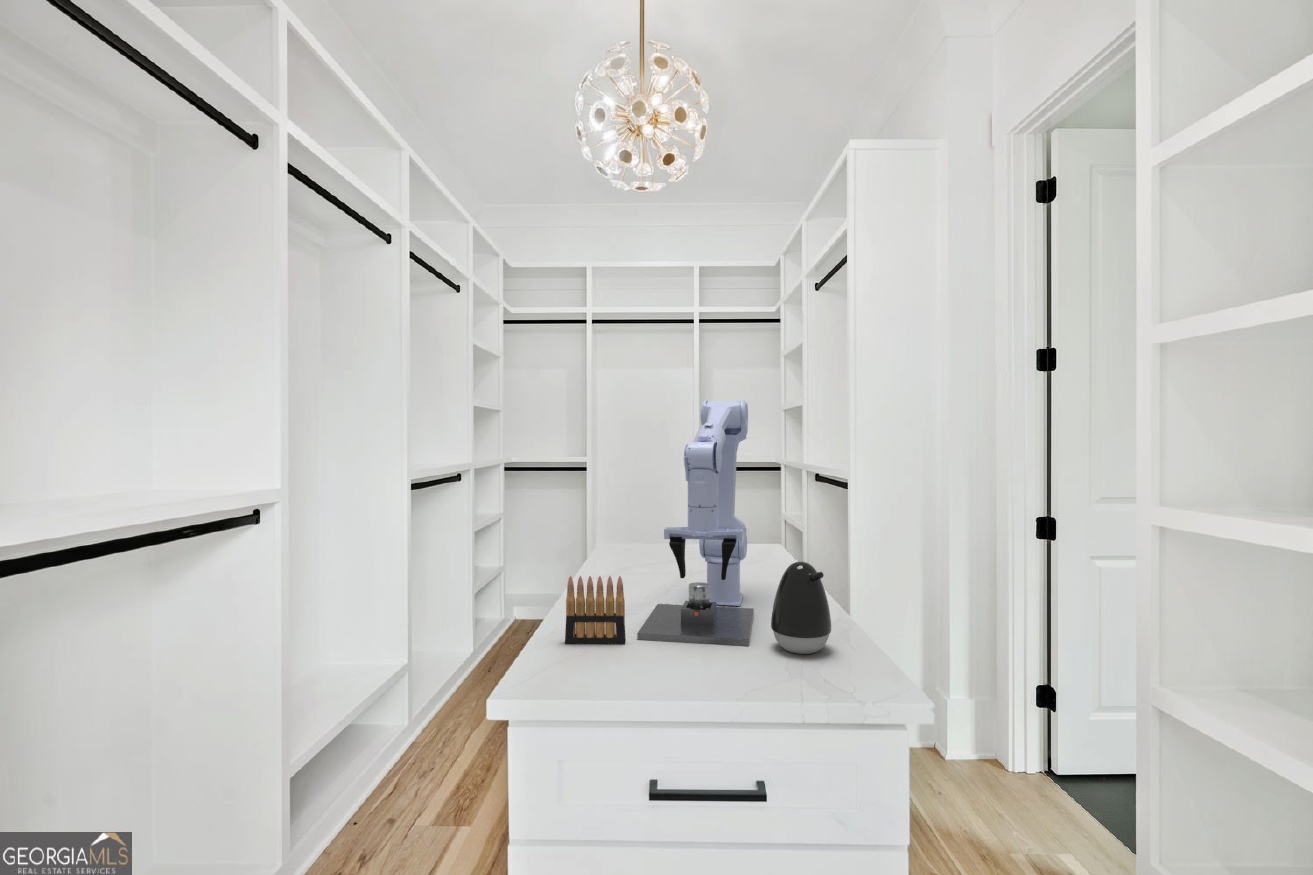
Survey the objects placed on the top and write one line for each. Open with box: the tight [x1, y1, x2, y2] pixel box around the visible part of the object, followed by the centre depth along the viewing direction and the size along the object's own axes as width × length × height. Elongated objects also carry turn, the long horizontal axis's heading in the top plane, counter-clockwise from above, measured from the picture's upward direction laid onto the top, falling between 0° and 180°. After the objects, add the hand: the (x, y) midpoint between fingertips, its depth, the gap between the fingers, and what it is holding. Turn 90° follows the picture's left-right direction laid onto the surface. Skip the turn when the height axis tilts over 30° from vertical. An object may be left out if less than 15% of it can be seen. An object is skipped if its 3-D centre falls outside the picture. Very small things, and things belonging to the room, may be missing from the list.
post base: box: [636, 600, 755, 647], centre depth 130 cm, size 20×20×4 cm
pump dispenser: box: [770, 561, 832, 655], centre depth 116 cm, size 10×10×15 cm
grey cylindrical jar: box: [688, 581, 710, 609], centre depth 130 cm, size 4×4×6 cm
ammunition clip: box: [564, 575, 627, 646], centre depth 120 cm, size 11×2×12 cm, turn 90°
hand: (703, 577), depth 126 cm, fingers open, 7 cm apart
